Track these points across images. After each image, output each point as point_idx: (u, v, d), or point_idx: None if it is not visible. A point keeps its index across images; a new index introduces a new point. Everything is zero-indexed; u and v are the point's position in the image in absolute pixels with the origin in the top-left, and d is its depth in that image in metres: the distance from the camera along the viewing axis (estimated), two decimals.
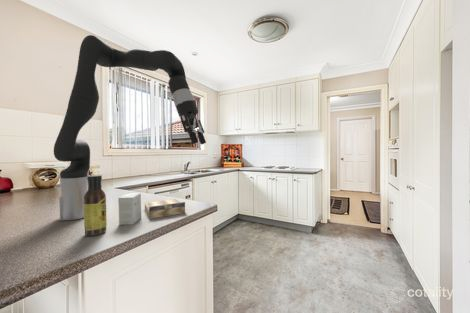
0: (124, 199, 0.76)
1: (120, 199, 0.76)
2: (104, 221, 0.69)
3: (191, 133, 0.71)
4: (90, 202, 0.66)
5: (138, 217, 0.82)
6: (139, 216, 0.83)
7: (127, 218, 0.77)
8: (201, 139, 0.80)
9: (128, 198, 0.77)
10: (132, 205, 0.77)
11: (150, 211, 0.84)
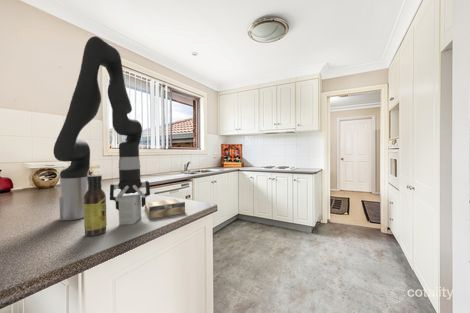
0: (124, 199, 0.76)
1: (120, 199, 0.76)
2: (104, 221, 0.69)
3: (115, 201, 0.77)
4: (90, 202, 0.66)
5: (138, 217, 0.82)
6: (139, 216, 0.83)
7: (127, 218, 0.77)
8: (141, 202, 0.82)
9: (128, 198, 0.77)
10: (132, 205, 0.77)
11: (150, 211, 0.84)
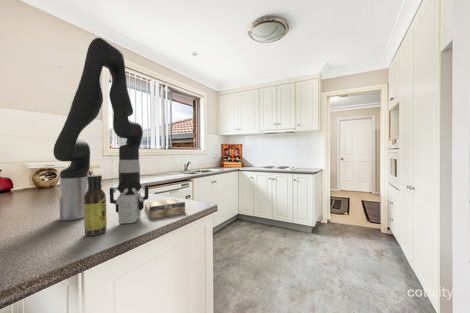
0: (124, 198, 0.76)
1: (120, 198, 0.76)
2: (104, 221, 0.69)
3: (115, 204, 0.78)
4: (90, 202, 0.66)
5: (138, 216, 0.82)
6: (139, 215, 0.83)
7: (126, 217, 0.77)
8: (139, 205, 0.82)
9: (128, 197, 0.77)
10: (132, 204, 0.77)
11: (150, 211, 0.84)
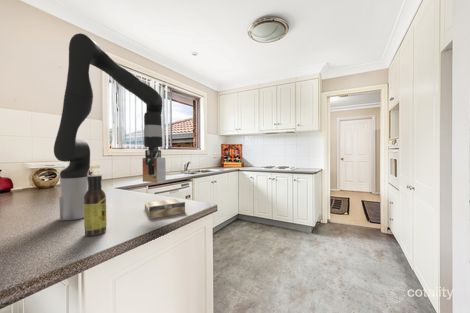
0: (160, 159, 0.86)
1: (158, 159, 0.85)
2: (104, 221, 0.69)
3: (150, 166, 0.83)
4: (90, 202, 0.66)
5: None
6: None
7: (162, 176, 0.87)
8: None
9: (162, 158, 0.87)
10: None
11: (150, 211, 0.84)
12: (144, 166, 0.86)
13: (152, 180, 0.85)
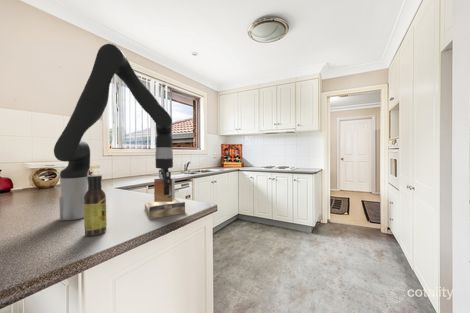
0: (173, 179, 0.92)
1: (172, 179, 0.90)
2: (104, 221, 0.69)
3: (167, 187, 0.88)
4: (90, 202, 0.66)
5: None
6: None
7: (173, 195, 0.93)
8: None
9: (173, 178, 0.93)
10: (174, 183, 0.95)
11: (150, 211, 0.84)
12: (156, 187, 0.89)
13: (166, 200, 0.89)
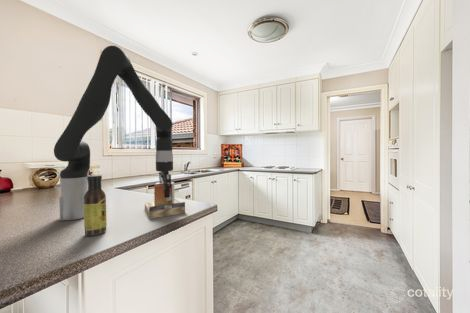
0: (173, 184, 0.92)
1: (172, 184, 0.91)
2: (104, 221, 0.69)
3: (167, 189, 0.88)
4: (90, 202, 0.66)
5: None
6: None
7: (173, 200, 0.93)
8: None
9: (173, 183, 0.94)
10: None
11: (150, 211, 0.84)
12: (157, 192, 0.89)
13: None
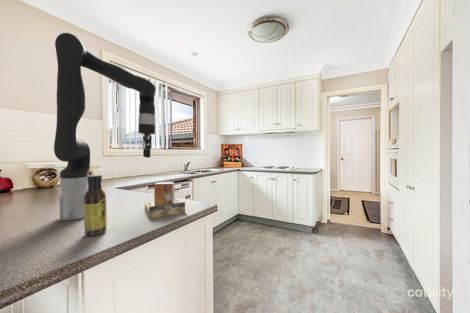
0: (173, 184, 0.92)
1: (172, 184, 0.91)
2: (104, 221, 0.69)
3: (148, 149, 0.93)
4: (90, 202, 0.66)
5: None
6: None
7: (173, 200, 0.93)
8: None
9: (173, 183, 0.94)
10: None
11: (150, 211, 0.84)
12: (157, 192, 0.89)
13: None
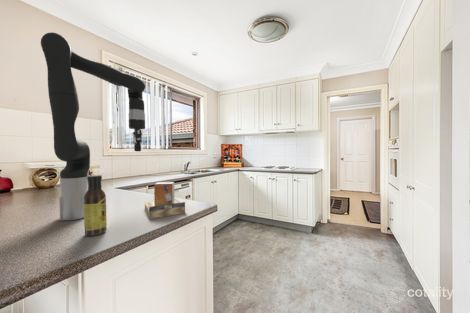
0: (173, 184, 0.92)
1: (172, 184, 0.91)
2: (104, 221, 0.69)
3: (139, 144, 0.98)
4: (90, 202, 0.66)
5: None
6: None
7: (173, 200, 0.93)
8: None
9: (173, 183, 0.94)
10: None
11: (150, 211, 0.84)
12: (157, 192, 0.89)
13: None
